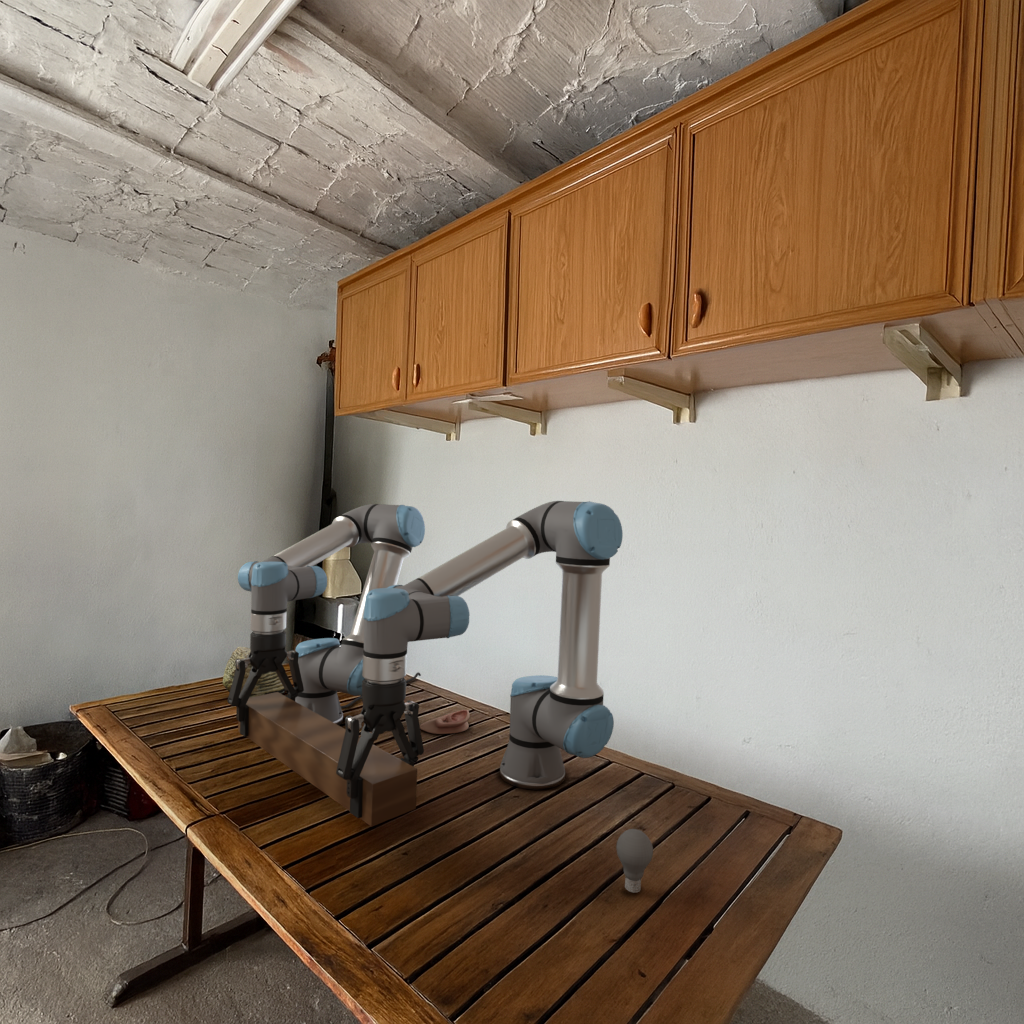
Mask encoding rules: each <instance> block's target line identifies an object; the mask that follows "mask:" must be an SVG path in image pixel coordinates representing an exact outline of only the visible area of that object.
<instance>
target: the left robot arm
mask: <svg viewBox="0 0 1024 1024" xmlns="http://www.w3.org/2000/svg"><path fill="white" fill-rule="evenodd" d="M425 534H426V525H425V521H424V517H423V515H422V513H421V511H420V510H419V509H418V508H417V507H415V506H413V505H405V504H383V503H382V504H381V503H369V504H364V505H361V506H358V507H356V508H353V509H351V510H349V511H346V512H345V513H342V514H341V515H339V516H337V517H335V518H334V519H333V521H332V523H331V524H329V525H328V526H326V527H324V528H321V529H320V530H318V531H316V532H315V533H312V534H311V535H309V536H307V537H305V538H304V539H302V540H300V541H298V542H296V543H294V544H292V545H290V546H289V547H287V548H285V549H283V550H281V551H279V552H278V553H276V554H274V555H272V556H270V557H268V558H266V559H264V560H262V561H258V560H256V561H255V560H254V561H248V562H246V563H244V564H243V565H241V567H240V568H239V570H238V574H237V581H238V584H239V587H240V588H241V589H242V590H244V591H246V592H250V595H251V596H250V597H251V598H250V599H251V600H250V601H251V602H250V603H251V604H250V605H251V606H250V631H251V632H250V636H249V637H250V638H249V639H250V641H249V648H250V655H249V656H248V658H244V659H239V658H238V659H236V660H235V666H236V670H235V674H234V678H233V682H232V686H231V689H230V692H228V693H229V694H228V697H227V703H228V704H229V705H230V706H232V707H236V710H235V711H236V713H235V715H236V717H235V719H236V721H237V722H238V721H239V722H240V732H239V734H240V735H241V736H243V737H244V738H247V736H248V730H249V707H248V706H247V705H246V703H247V701H248V699H249V697H250V695H251V693H252V691H253V689H254V687H255V685H256V683H257V681H258V679H259V678H260V677H261V675H262V674H265V673H268V672H276V673H277V675H278V677H279V679H280V681H281V683H282V685H283V686H284V688H285V692H286V694H285V695H284V694H283V695H284V696H286V697H288V698H290V699H291V700H293V701H295V702H297V703H299V704H300V705H302V706H304V707H306V708H308V709H310V710H311V711H313V712H315V713H317V714H319V715H320V716H322V717H324V718H326V719H328V720H330V721H331V722H333V723H335V724H337V725H339V726H340V725H342V723H343V722H344V713H343V710H344V709H347V708H349V707H351V706H353V705H354V704H355V703H356V702H359V701H360V700H362V681H363V680H364V679H365V678H364V677H363V676H362V670H363V650H364V617H363V615H364V608H365V600H366V595H367V593H368V592H369V591H371V590H373V589H379V588H387V587H389V586H392V585H398V582H399V578H400V575H401V570H402V567H403V563H404V560H405V559H406V558H408V557H410V556H411V555H412V551H413V548H416V547H419V546H420V545H421V544H422V543H423V541H424V540H425V539H424V538H425ZM367 543H368V544H369V543H370V547H371V549H372V550H373V554H372V559H371V561H370V565H369V567H368V571H367V574H366V579H365V581H364V585H363V589H362V593H361V595H360V598H359V603H358V607H357V608H356V609H357V610H356V612H355V616H354V620H353V623H352V627H351V630H350V634H348V635H347V636H344V637H343V638H342V640H341V643H340V640H339V639H338V638H335V637H324V638H323V637H322V638H313V639H308V640H304V641H302V642H299V643H298V644H297V645H296V647H295V649H291V650H289V651H287V650H286V646H287V632H286V631H285V629H287V614H288V612H287V611H288V602H293V601H298V600H304V599H312V598H315V597H318V596H321V595H322V594H324V593H325V591H326V590H327V587H328V576H327V574H326V572H325V570H324V569H323V568H322V567H320V566H318V565H317V564H319V563H321V562H322V561H324V560H326V559H327V558H329V557H331V556H333V555H334V554H337V553H338V552H339V551H341V550H343V549H345V548H353V547H355V546H356V545H360V544H367ZM285 660H287V661H288V666H289V671H290V675H291V680H292V681H291V680H290V678H289V676H288V674H287V672H286V669H285V667H284V665H283V663H284V662H285ZM249 663H250V664H251V665H252V668H251V670H250V672H249V677H248V678H247V680H246V682H245V684H244V686H243V688H242V684H243V680H244V676H245V670H246V668H247V667H248V664H249ZM418 676H419V677H421V676H422V674H421V673H420V672H419V671H418V672H416V673H415V675H414V676H413V677H411V678H409V679H405V680H406V684H408V683H410V682H412V681H414V680H415V679H417V677H418ZM241 688H242V690H241ZM240 691H241V692H240ZM338 692H340V693H343V694H347V695H351V696H353V697H354V696H355V697H356V698H355V699H353V700H351V701H350V702H349V703H347V704H345V705H341V702H340V699H339V695H338Z"/></svg>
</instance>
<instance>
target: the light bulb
mask: <svg viewBox="0 0 1024 1024" xmlns="http://www.w3.org/2000/svg"><path fill="white" fill-rule="evenodd" d="M615 849H616V854H617V857H618V859H619V861H620V863H621V865H622V867H623V873H624V874H623V875H624V876H625V878H624V888H625V890H627V891H628V892H630V893H634V894H635V893H639V892H640V891H641V889H642V887H641V886H642V879H643V877H644V875H645V871H646V868H647V867H648V866H649V864H650V863H651V861H652V859H653V855H654V847H653V843H652V841H651V838H649V836H648V835H647V834H646V833H645V832H643V831H642V830H641V829H636V828H629V829H627V830H625V831H623V832H622V833H621V834H620V835H619V837H618V839H617V841H616V847H615Z"/></svg>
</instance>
